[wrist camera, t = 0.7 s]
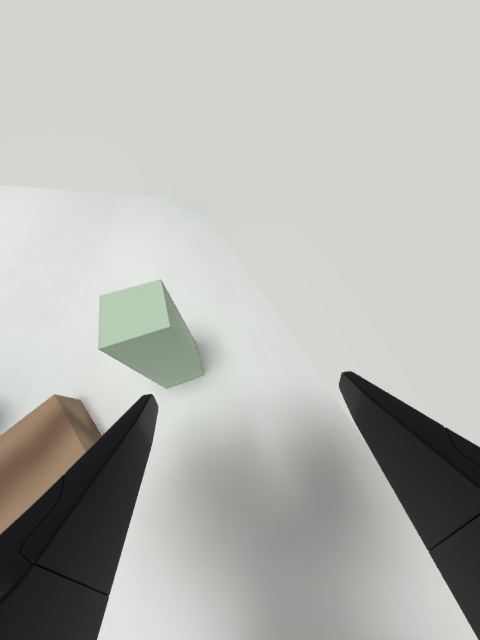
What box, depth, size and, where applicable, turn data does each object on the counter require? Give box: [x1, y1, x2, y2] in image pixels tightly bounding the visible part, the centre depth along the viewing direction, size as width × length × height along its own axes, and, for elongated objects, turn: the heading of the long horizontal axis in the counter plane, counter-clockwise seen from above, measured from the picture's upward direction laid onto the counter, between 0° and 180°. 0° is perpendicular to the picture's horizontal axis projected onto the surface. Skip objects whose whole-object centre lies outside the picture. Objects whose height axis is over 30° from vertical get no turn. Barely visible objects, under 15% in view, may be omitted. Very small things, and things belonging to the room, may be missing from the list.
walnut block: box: [0, 394, 102, 534], centre depth 20 cm, size 8×8×4 cm
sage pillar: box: [98, 279, 204, 389], centre depth 20 cm, size 5×5×13 cm
